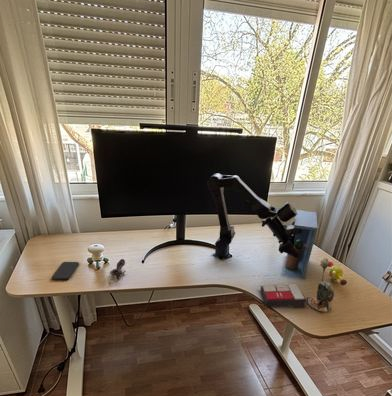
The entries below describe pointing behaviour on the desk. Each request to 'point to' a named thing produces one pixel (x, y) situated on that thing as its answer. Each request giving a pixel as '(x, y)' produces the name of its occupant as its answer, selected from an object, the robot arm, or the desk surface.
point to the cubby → (304, 241)
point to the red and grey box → (282, 295)
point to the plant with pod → (322, 293)
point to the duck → (293, 261)
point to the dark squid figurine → (119, 268)
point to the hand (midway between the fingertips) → (297, 254)
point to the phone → (65, 271)
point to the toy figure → (336, 273)
